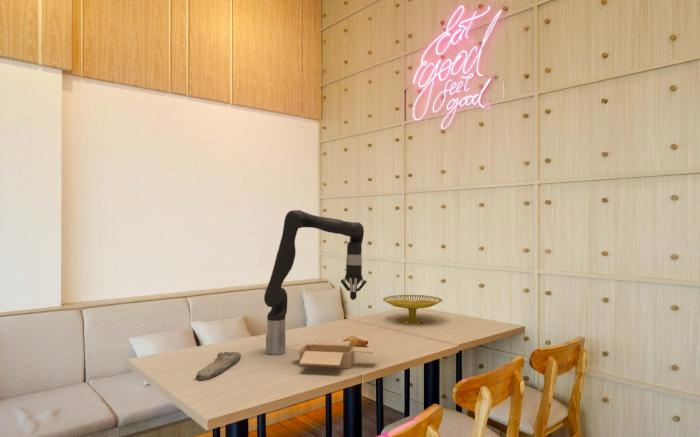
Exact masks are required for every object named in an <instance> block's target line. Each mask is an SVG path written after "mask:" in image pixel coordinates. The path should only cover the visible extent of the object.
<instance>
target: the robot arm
mask: <svg viewBox="0 0 700 437" xmlns="http://www.w3.org/2000/svg"><path fill="white" fill-rule="evenodd" d="M283 222H284V223H283V230H282V235H281V239H280V242H279V245H278V249H277V253H276V256H275V259H274V265H273V269H272V272H271V276H270V279H269V282H268V284H267V288H266V290H265V292H264V294H263V297H264V298H263V299H264V303H265V305H266V306H267V307H268V308H271V309H270V311H269V312H268V313H267V316H266V319H267V321H266V324H267V327H266V328H267V330H266V334H265V354H268V355H274V356H275V355H276V356H278V355H283V354H285V353H286V350H287V349H286V315H287V312H288V294H287V290H286V289H285V288H284V287H283V286H282V285H283V284H284V281H285V280H286V278H287V276H288V275H289V273H290V272H291V270H292V269H293V265H294V262H295V258H296V255H297V254H296V237H297V235H298V234H297V233H298V232H299V231H298V230H299V229H301V228H311V229H312V228H313V229H316V230H317V229H318V230H321V231H323V232H326V233H330V234H331V233H332V234H337V235H342V236H346V237H349V241H348V243H347V247H346V258H345V259H346V261H345V262H346V263H345V266H346V267H345V276H344V278H343V279H340V283H341V284H342V285H343V287H344V288H345V289H346V291H348V292H349V294H350V295H349V298H350V299H351V301H355V300H356V299H357V293H358V292H359V291H361V289H363V287H364V286H365V285H366V284H367V283H368V282H367V280H365V279H364V278H363V274H362V273H363V269H362V268H363V265H362V264H363V257H362V254H363V253H362V251H363V250H362V244H363V240H364V233H365V231H364V230H365V229H364V226H363V224H362V223H361V222H356V221H355V222H354V221H347V220H346V221H344V220H342V219H338V218H332V217H326V216H318V215H315V214H310V213H308V212H305V211H303V210H299V209H295V210H290V211H288V212H287V213H286V215H285V216H284V221H283ZM347 283H348V284H349V285H348V284H347ZM359 284H360V285H359ZM358 285H359V287H358Z"/></svg>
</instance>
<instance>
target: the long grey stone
mask: <svg viewBox="0 0 700 437" xmlns="http://www.w3.org/2000/svg"><path fill="white" fill-rule="evenodd" d="M216 356H217V357H216V358H214V361H213V362H211V363H209V364H207V365H206V366H205V367H203V368H202V369H200V370H198V371H197V374H196V376H195V378H196V379H197V380H198V381H200V382H204V381H205V380H206V381H209V380H210V379H212V378H214V377H216V376H218V375H220V374H222V373H223V372H225V371H226V369H227V370H228V369H229V368H230V367H231V366H234V365H235V364H236V363H238V362H239V360H241V357H242V353H241V352H239V351H231V352H229V351H224V352H222V351H220V352H218V353H217V355H216ZM208 379H209V380H208ZM206 381H205V382H206Z"/></svg>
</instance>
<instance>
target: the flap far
mask: <svg viewBox="0 0 700 437" xmlns="http://www.w3.org/2000/svg"><path fill="white" fill-rule="evenodd" d="M375 351H376V348H375V347H367V346H365V347H354V348H353V350H352V352H354V353H362V354H374V353H375Z"/></svg>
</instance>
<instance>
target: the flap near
mask: <svg viewBox="0 0 700 437" xmlns="http://www.w3.org/2000/svg"><path fill="white" fill-rule="evenodd" d="M342 357H343V353H342V352H318V351H305V353H304V355H303V357H302V359H301V361H300V364H311V365H332V366H340V363H341V360H342Z"/></svg>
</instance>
